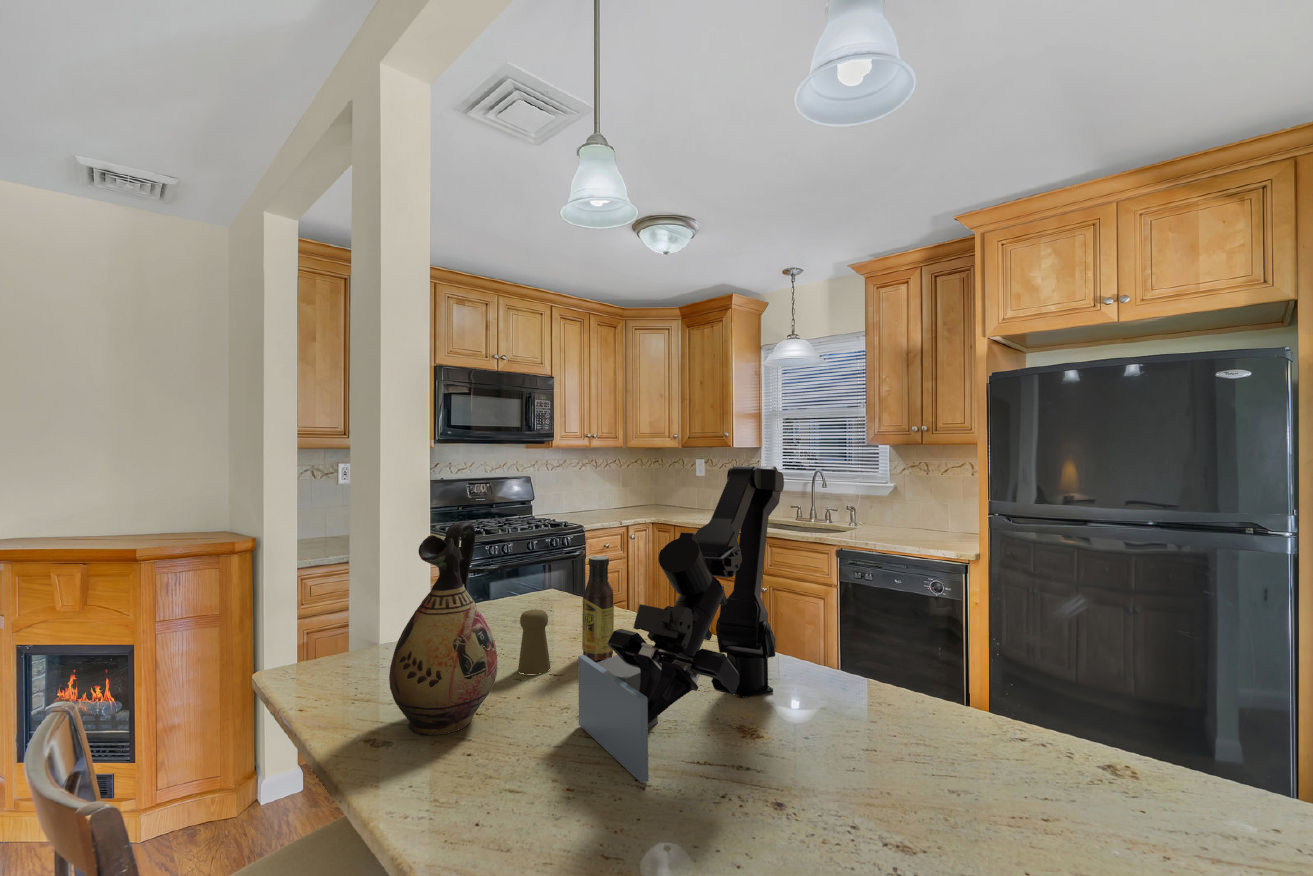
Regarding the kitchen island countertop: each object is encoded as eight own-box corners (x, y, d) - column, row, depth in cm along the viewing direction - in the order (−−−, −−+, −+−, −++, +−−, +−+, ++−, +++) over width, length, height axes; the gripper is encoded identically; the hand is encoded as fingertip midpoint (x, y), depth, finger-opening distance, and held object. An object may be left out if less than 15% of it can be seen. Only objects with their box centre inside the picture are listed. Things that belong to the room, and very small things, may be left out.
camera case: (618, 709, 96) (617, 654, 96) (657, 722, 91) (657, 665, 91) (586, 724, 91) (585, 667, 91) (626, 740, 86) (625, 678, 86)
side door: (585, 723, 91) (584, 655, 91) (648, 780, 74) (647, 697, 75) (578, 724, 90) (578, 656, 90) (641, 783, 74) (640, 699, 74)
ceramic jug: (466, 750, 83) (465, 529, 84) (366, 741, 86) (366, 528, 87) (518, 701, 100) (518, 517, 101) (433, 695, 103) (433, 516, 104)
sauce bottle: (578, 655, 123) (577, 555, 123) (607, 650, 125) (606, 553, 126) (588, 665, 117) (587, 560, 118) (619, 660, 120) (618, 558, 120)
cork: (511, 672, 113) (510, 612, 114) (532, 662, 119) (531, 605, 119) (536, 677, 111) (536, 616, 111) (557, 667, 116) (556, 608, 116)
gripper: (616, 571, 87) (557, 671, 78) (726, 589, 75) (671, 709, 67) (651, 615, 93) (601, 712, 84) (759, 638, 81) (713, 754, 72)
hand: (641, 720), depth 77 cm, fingers closed
